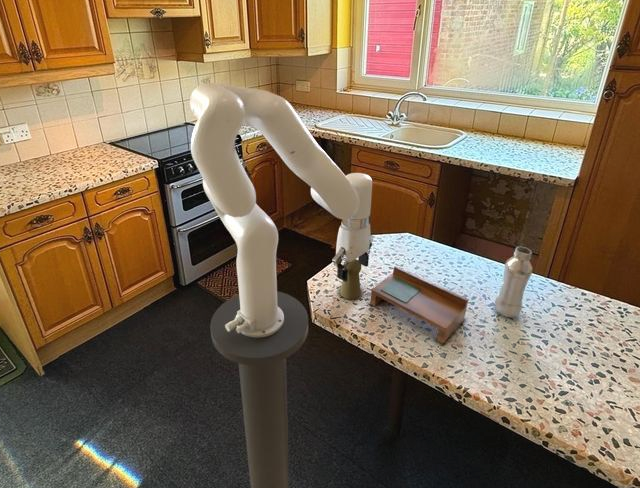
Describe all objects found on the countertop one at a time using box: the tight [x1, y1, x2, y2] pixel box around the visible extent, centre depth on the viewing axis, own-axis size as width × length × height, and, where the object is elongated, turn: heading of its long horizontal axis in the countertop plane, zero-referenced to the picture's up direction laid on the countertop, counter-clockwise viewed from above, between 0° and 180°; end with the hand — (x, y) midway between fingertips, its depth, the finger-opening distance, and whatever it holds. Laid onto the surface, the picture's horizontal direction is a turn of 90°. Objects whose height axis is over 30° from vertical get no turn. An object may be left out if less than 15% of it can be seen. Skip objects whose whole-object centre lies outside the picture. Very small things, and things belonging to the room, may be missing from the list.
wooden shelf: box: [369, 265, 470, 345], centre depth 108 cm, size 12×22×7 cm, turn 46°
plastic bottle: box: [494, 246, 533, 318], centre depth 105 cm, size 6×7×20 cm
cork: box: [339, 258, 362, 300], centre depth 114 cm, size 6×6×11 cm
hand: (352, 271), depth 114 cm, fingers open, 9 cm apart
